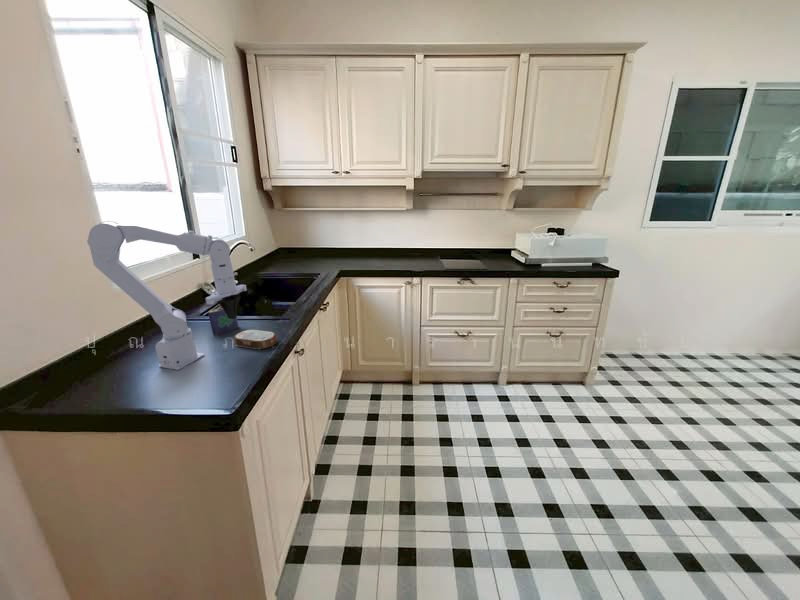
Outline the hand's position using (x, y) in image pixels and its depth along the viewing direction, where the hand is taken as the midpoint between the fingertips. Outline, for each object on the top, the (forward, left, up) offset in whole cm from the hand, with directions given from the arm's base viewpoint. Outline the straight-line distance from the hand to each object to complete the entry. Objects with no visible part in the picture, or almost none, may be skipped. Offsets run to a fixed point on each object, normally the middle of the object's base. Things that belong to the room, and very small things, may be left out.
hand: (232, 318), depth 109 cm
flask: (+9, +14, -10) cm, 19 cm away
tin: (-1, -4, -8) cm, 9 cm away
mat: (+4, -4, -10) cm, 12 cm away
